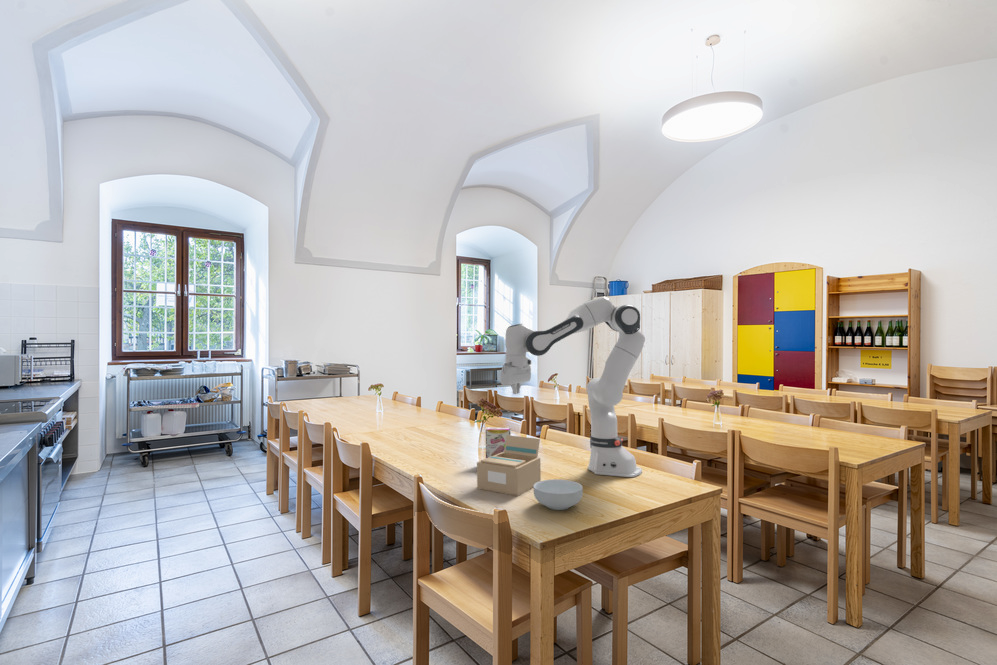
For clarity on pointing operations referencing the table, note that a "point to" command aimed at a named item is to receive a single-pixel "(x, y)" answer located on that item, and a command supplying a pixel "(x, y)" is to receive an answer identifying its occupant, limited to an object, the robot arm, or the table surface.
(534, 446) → the cardboard box flap
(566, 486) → the cereal bowl
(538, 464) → the carton
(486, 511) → the table surface
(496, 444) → the candy bar box
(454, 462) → the table surface
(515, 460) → the flap
